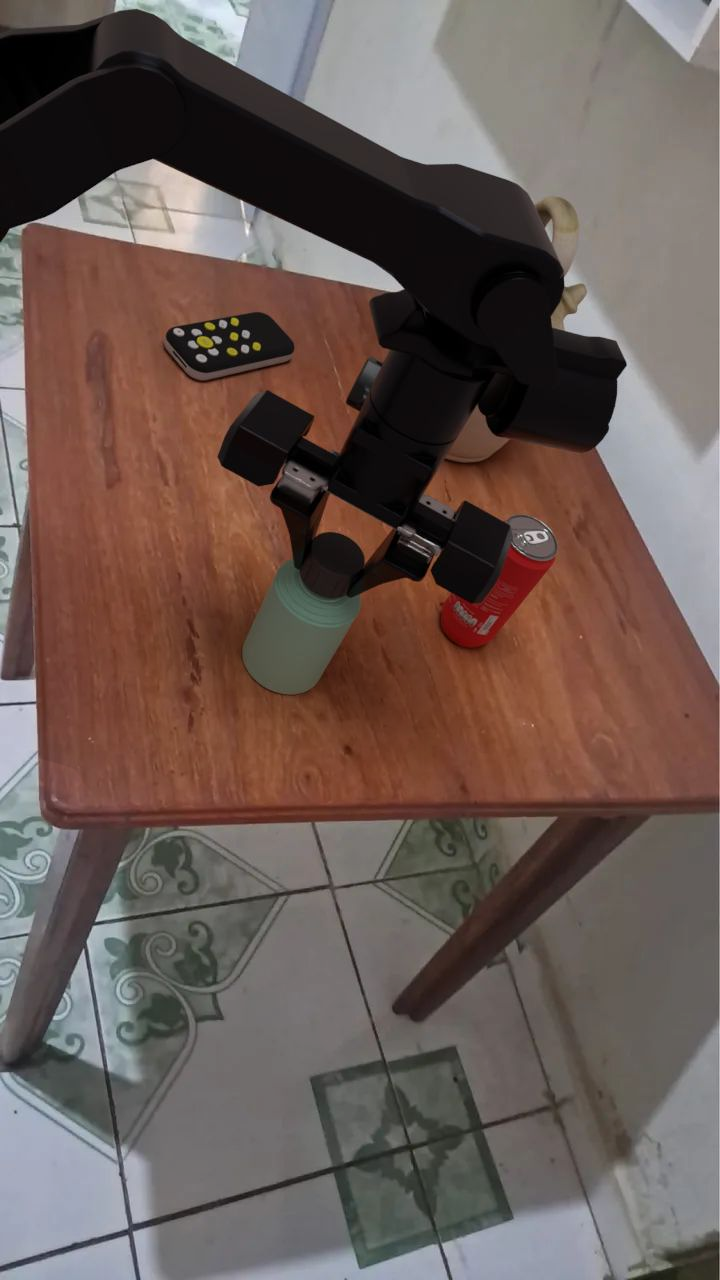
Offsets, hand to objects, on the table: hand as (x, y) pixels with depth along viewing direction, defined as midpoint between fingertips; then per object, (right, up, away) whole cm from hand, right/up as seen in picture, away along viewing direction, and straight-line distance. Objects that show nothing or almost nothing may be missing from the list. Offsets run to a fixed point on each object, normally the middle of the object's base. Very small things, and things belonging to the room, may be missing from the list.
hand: (324, 578), depth 66 cm
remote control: (-10, +24, +27) cm, 37 cm away
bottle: (-3, -6, +7) cm, 10 cm away
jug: (+11, +18, +33) cm, 39 cm away
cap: (+1, +1, -2) cm, 2 cm away
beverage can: (+11, -3, +16) cm, 20 cm away
